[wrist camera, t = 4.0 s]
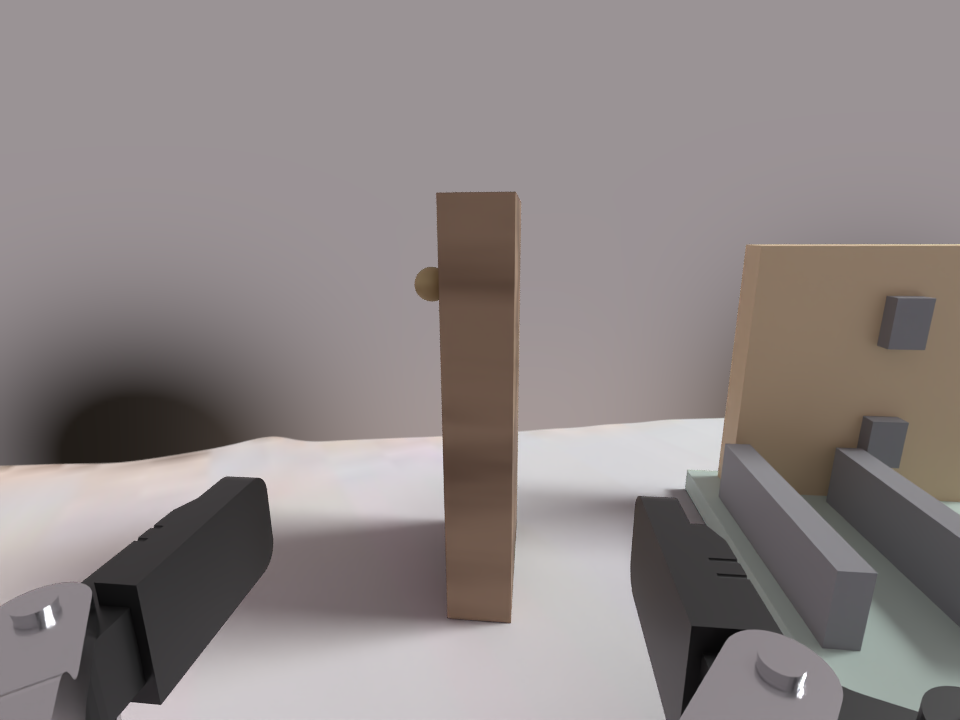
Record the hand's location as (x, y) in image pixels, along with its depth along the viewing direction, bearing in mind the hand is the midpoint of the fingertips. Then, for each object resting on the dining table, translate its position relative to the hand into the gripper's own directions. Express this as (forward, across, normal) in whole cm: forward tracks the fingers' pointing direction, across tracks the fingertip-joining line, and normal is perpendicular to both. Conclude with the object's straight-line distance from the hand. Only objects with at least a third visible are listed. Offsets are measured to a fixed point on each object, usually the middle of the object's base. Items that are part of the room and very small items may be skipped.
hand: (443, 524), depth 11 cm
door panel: (+11, 0, +9) cm, 14 cm away
